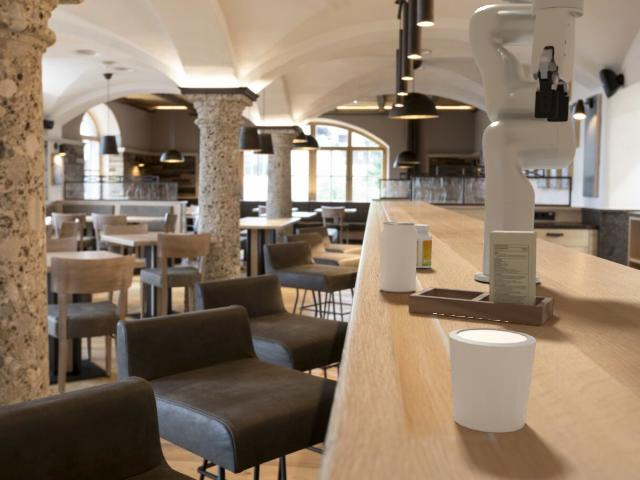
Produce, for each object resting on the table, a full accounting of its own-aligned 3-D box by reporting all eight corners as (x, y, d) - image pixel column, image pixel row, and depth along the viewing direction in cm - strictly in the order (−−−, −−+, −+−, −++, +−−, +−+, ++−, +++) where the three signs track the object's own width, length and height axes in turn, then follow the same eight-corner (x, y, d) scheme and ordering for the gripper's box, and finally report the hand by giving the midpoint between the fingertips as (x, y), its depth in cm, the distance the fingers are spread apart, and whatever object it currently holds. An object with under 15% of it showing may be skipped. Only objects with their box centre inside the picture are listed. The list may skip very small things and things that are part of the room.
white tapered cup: (436, 407, 60) (439, 326, 60) (514, 406, 61) (518, 326, 60) (458, 436, 54) (462, 345, 53) (546, 434, 54) (550, 345, 54)
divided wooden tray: (429, 302, 113) (430, 286, 113) (553, 314, 105) (553, 297, 105) (408, 312, 105) (409, 295, 104) (541, 325, 96) (542, 307, 96)
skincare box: (535, 314, 103) (539, 230, 102) (532, 319, 99) (536, 232, 98) (490, 310, 106) (494, 229, 105) (486, 315, 102) (489, 230, 101)
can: (414, 294, 122) (416, 224, 121) (376, 292, 123) (378, 223, 122) (416, 288, 128) (418, 222, 127) (381, 287, 129) (382, 221, 128)
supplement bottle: (430, 266, 163) (431, 224, 162) (431, 269, 157) (433, 225, 156) (406, 265, 163) (407, 223, 162) (407, 268, 158) (408, 225, 157)
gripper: (543, 18, 117) (538, 123, 119) (520, -4, 102) (514, 117, 104) (591, 15, 114) (585, 122, 116) (574, -9, 98) (567, 116, 100)
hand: (551, 119), depth 110 cm, fingers open, 9 cm apart
